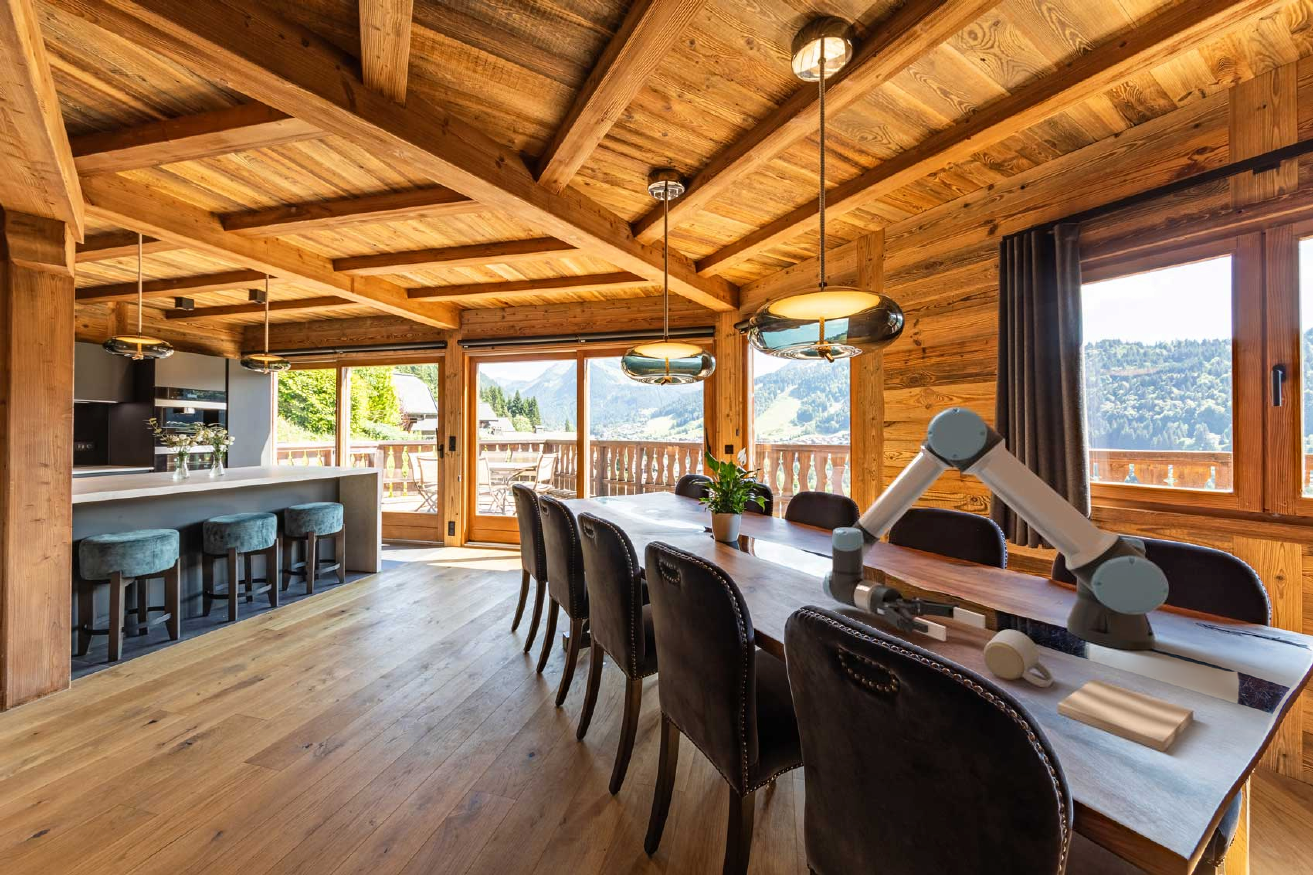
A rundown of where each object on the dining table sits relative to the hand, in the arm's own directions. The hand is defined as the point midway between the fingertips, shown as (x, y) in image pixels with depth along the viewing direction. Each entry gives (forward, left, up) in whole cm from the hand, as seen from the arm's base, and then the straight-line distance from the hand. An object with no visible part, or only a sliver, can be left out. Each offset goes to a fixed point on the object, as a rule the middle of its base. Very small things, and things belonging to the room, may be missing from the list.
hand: (965, 628), depth 110 cm
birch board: (-15, +21, -6) cm, 27 cm away
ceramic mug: (-6, +8, -6) cm, 12 cm away
